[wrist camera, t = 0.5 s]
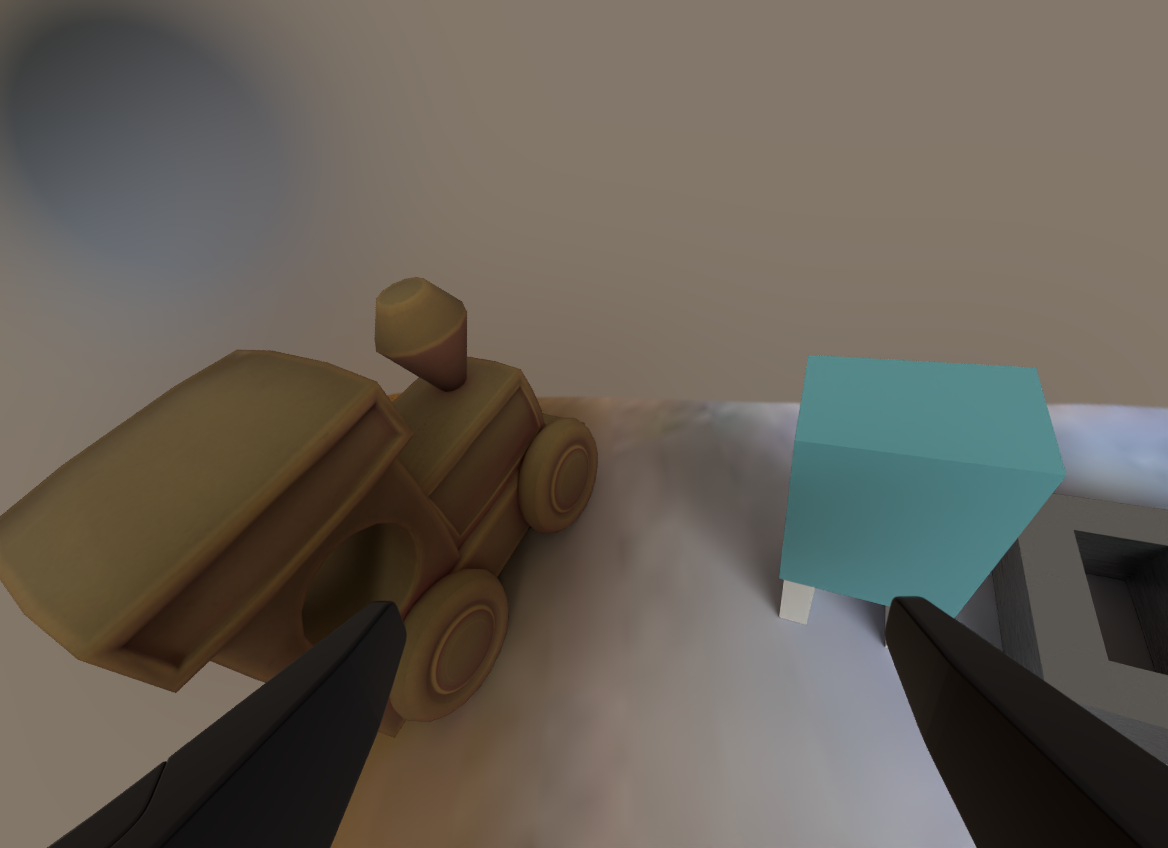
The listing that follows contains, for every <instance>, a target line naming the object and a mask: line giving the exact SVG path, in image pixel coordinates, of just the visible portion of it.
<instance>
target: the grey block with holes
mask: <svg viewBox="0 0 1168 848" xmlns="http://www.w3.org/2000/svg"><path fill="white" fill-rule="evenodd" d="M1085 573H1090V574H1095V575H1100V576H1106V577H1111V578H1116V579H1121V580H1126V581H1127V584H1128V587H1129V590H1130V593H1131V596H1132V599H1133V603H1134V606H1135V609H1136V612H1137V615H1138V618H1139V621H1140V624H1141V627H1142V630H1143V633H1144V637H1145V640H1146V643H1147V646H1148V649H1149V652H1150V655H1151V658H1152V661H1153V664H1154V668H1155V671H1156V672H1152V671H1148V670H1144V669H1140V668H1136V667H1132V666H1128V665H1124V664H1120V663H1116V662H1112V661H1109V660H1108V656H1107V653H1106V649H1105V645H1104V641H1103V638H1102V634H1101V630H1100V627H1099V623H1098V619H1097V615H1096V612H1095V608H1094V604H1093V601H1092V597H1091V593H1090V589H1089V586H1088V582H1087V578H1086V575H1085ZM992 574H993V581H994V588H995V595H996V602H997V609H998V617H999V624H1000V631H1001V638H1002V645H1003V652H1004V653H1005V654H1006V655H1008V656H1009V657H1011V658H1012V659H1014V660H1015V661H1017V662H1018V663H1020V664H1021V665H1022V666H1024V667H1025V668H1027V669H1028V670H1030V671H1031V672H1033V673H1034V674H1035V675H1037V676H1038V677H1040V678H1041V679H1043V680H1044V681H1046V682H1047V683H1049V684H1050V685H1051V686H1053V687H1054V688H1056V689H1057V690H1059V691H1060V692H1062V693H1063V694H1064V695H1066V696H1067V697H1069V698H1070V699H1072V700H1073V701H1075V702H1076V703H1077V704H1079V705H1080V706H1082V707H1083V708H1085V709H1086V710H1088V711H1089V712H1091V713H1092V714H1093V715H1095V716H1096V717H1098V718H1099V719H1101V720H1102V721H1104V722H1105V723H1106V724H1108V725H1109V726H1111V727H1112V728H1114V729H1115V730H1117V731H1118V732H1120V733H1121V734H1122V735H1124V736H1125V737H1127V738H1128V739H1130V740H1131V741H1133V742H1134V743H1135V744H1137V745H1138V746H1140V747H1141V748H1143V749H1144V750H1146V751H1147V752H1149V753H1150V754H1151V755H1153V756H1154V757H1156V758H1157V759H1159V760H1160V761H1162V762H1163V763H1166V764H1168V510H1164V509H1157V508H1150V507H1143V506H1136V505H1129V504H1122V503H1115V502H1108V501H1101V500H1094V499H1087V498H1081V497H1074V496H1067V495H1060V494H1053V493H1052V495H1051V496H1050V497H1049V498H1048V500H1047V501H1046V502H1045V503H1044V505H1043V506H1042V507H1041V509H1040V510H1039V511H1038V512H1037V514H1036V515H1035V516H1034V517H1033V519H1032V520H1031V521H1030V523H1029V524H1028V525H1027V526H1026V528H1025V529H1024V530H1023V531H1022V533H1021V534H1020V535H1019V537H1018V538H1017V539H1016V540H1015V542H1014V543H1013V544H1012V545H1011V547H1010V548H1009V549H1008V551H1007V552H1006V553H1005V554H1004V556H1003V557H1002V558H1001V560H1000V561H999V562H998V563H997V565H996V566H995V567H994V568H993V570H992Z"/></svg>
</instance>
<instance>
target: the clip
mask: <svg viewBox="0 0 1168 848" xmlns="http://www.w3.org/2000/svg"><path fill="white" fill-rule="evenodd" d="M1065 477H1066V472H1065V469H1064V465H1063V462H1062V458H1061V454H1060V451H1059V447H1058V444H1057V440H1056V437H1055V433H1054V430H1053V426H1052V422H1051V419H1050V415H1049V412H1048V408H1047V405H1046V401H1045V398H1044V394H1043V391H1042V387H1041V383H1040V380H1039V377H1038V373H1037V370H1036V368H1029V367H1012V366H995V365H976V364H958V363H941V362H924V361H906V360H886V359H870V358H853V357H834V356H817V355H809V356H808V362H807V368H806V374H805V380H804V386H803V392H802V398H801V405H800V411H799V417H798V423H797V429H796V435H795V442H794V451H793V460H792V468H791V477H790V486H789V495H788V504H787V512H786V521H785V530H784V539H783V548H782V557H781V565H780V574H779V579H782V580H784V584H783V592H782V599H781V607H780V615H779V617H780V618H784V619H787V620H791V621H794V622H798V623H801V624H805V625H806V624H807V620H808V615H809V611H810V607H811V603H812V599H813V594H814V590H815V588H818V589H822V590H826V591H830V592H834V593H838V594H842V595H846V596H850V597H854V598H858V599H862V600H866V601H870V602H874V603H878V604H882V605H885V627H886V622H887V618H888V613H889V609H890V605H891V601H892V599H893V598H894V597H897V596H920V597H923V598H925V599H927V600H928V601H930V602H931V603H933V604H934V605H935V606H937V607H938V608H940V609H941V610H943V611H944V612H946V613H947V614H948V615H950V616H951V617H953V618H955V617H956V616H957V614H958V613H959V612H960V611H961V609H962V608H963V607H964V605H965V604H966V603H967V602H968V600H969V599H970V598H971V596H972V595H973V594H974V593H975V591H976V590H977V589H978V588H979V586H980V585H981V584H982V582H983V581H984V580H985V579H986V577H987V576H988V575H989V574H990V572H991V571H992V570H993V568H994V567H995V566H996V565H997V563H998V562H999V561H1000V560H1001V558H1002V557H1003V556H1004V554H1005V553H1006V552H1007V551H1008V549H1009V548H1010V547H1011V545H1012V544H1013V543H1014V542H1015V540H1016V539H1017V538H1018V537H1019V535H1020V534H1021V533H1022V531H1023V530H1024V529H1025V528H1026V526H1027V525H1028V524H1029V523H1030V521H1031V520H1032V519H1033V517H1034V516H1035V515H1036V514H1037V512H1038V511H1039V510H1040V509H1041V507H1042V506H1043V505H1044V503H1045V502H1046V501H1047V500H1048V498H1049V497H1050V496H1051V495H1052V493H1053V492H1054V491H1055V489H1056V488H1057V487H1058V486H1059V484H1060V483H1061V482H1062V480H1063V479H1064V478H1065ZM885 648H888V647H887V644H886V640H885Z"/></svg>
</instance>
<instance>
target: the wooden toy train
mask: <svg viewBox="0 0 1168 848" xmlns="http://www.w3.org/2000/svg"><path fill="white" fill-rule="evenodd" d="M375 345H376V352H378V353H380V354H382V355H383V356H385V357H386V358H388V359H390V360H392V361H393V362H395V363H397V364H398V365H400V366H402V367H403V368H405V369H407V370H408V371H410V372H412V373H413V374H415V375H417V376H418V377H419V378H418V379H417V380H416V381H414V382H413V383H412V384H411V385H410V386H409V387H408V388H407V389H406V390H405V391H404V392H403V393H402V394H401V395H400V396H399V397H398V398H397V399H396V400H395V401H394V402H393V403H392V402H391V400H390V399H389V398H388V396H387V395H386V394H385V392H384V391H383V390H382V388H381V387H380V385H379V384H378V382H376V381H374V380H371V379H368V378H366V377H363V376H361V375H358V374H356V373H353V372H350V371H348V370H345V369H343V368H340V367H337V366H335V365H332V364H330V363H327V362H322V361H318V360H313V359H309V358H303V357H299V356H295V355H289V354H285V353H281V352H276V351H266V350H262V351H261V350H236V351H234V352H232V353H231V354H229V355H227V356H225V357H224V358H222V359H221V360H219V361H217V362H215V363H214V364H212V365H210V366H208V367H207V368H205V369H203V370H202V371H200V372H198V373H197V374H195V375H193V376H191V377H190V378H188V379H186V380H185V381H183V382H181V383H180V384H178V385H176V386H174V387H173V388H172V389H170V390H169V391H167V392H166V393H164V394H163V395H162V396H160V397H159V398H157V399H156V400H154V401H153V402H152V403H150V404H149V405H148V406H146V407H144V408H143V409H142V410H140V411H139V412H137V413H136V414H134V415H133V416H132V417H131V418H129V419H127V420H126V421H125V422H123V423H122V424H120V425H119V426H117V427H116V428H115V429H113V430H112V431H110V432H109V433H107V434H106V435H105V436H103V437H102V438H100V439H99V440H98V441H96V442H95V443H93V444H92V445H90V446H89V447H87V448H86V449H85V450H83V451H82V452H81V453H79V454H78V455H76V456H75V457H73V458H72V459H70V460H69V461H68V462H66V463H65V464H63V465H62V466H61V467H59V468H58V469H57V470H56V471H55V472H54V473H52V474H51V475H50V476H49V477H47V478H46V479H45V480H44V481H43V482H41V483H40V484H39V485H38V486H36V487H35V488H34V489H33V490H32V491H30V492H29V493H28V494H27V495H26V496H24V497H23V498H22V499H21V500H19V501H18V502H17V503H16V504H15V505H13V506H12V507H11V508H10V509H9V510H7V511H6V512H5V513H4V514H2V515H1V516H0V580H1V582H2V583H3V585H4V586H5V588H6V589H7V590H8V592H9V593H10V595H11V596H12V597H13V599H14V601H15V602H16V603H17V605H18V606H19V608H20V609H21V611H22V612H23V613H24V615H26V616H27V617H28V618H29V619H30V620H31V621H33V622H34V623H35V624H36V625H37V626H39V627H40V628H41V629H42V630H43V631H45V632H46V633H47V634H48V635H49V636H51V637H52V638H53V639H54V640H55V641H56V642H58V643H59V644H60V645H61V646H62V647H64V648H65V649H66V650H67V651H68V652H69V653H71V654H72V655H73V656H74V657H75V658H77V659H78V660H80V661H83V662H86V663H89V664H92V665H95V666H98V667H101V668H104V669H107V670H110V671H113V672H116V673H118V674H121V675H124V676H128V677H130V678H133V679H136V680H139V681H142V682H145V683H148V684H151V685H154V686H157V687H160V688H163V689H166V690H169V691H171V692H175V693H176V692H177V691H179V690H180V689H181V688H182V687H183V685H185V684H186V683H187V682H188V681H189V680H190V679H191V678H192V677H193V676H194V675H195V674H196V673H197V672H198V671H199V670H200V669H201V668H203V667H204V666H205V665H206V664H207V663H208V662H209V661H212V662H215V663H217V664H219V665H222V666H224V667H227V668H229V669H232V670H234V671H237V672H239V673H241V674H244V675H246V676H249V677H251V678H254V679H257V680H260V681H262V682H265V683H266V682H268V681H269V680H270V679H272V678H273V677H274V676H275V675H277V674H278V673H279V672H281V671H282V670H283V669H285V668H286V667H287V666H289V665H290V664H291V663H292V662H294V661H295V660H296V659H298V658H299V657H300V656H302V655H303V654H304V653H305V652H307V651H308V650H309V649H311V648H312V647H313V646H315V645H316V644H317V643H318V642H320V641H321V640H322V639H324V638H325V637H326V636H328V635H329V634H330V633H331V632H333V631H334V630H335V629H337V628H338V627H339V626H341V625H342V624H343V623H344V622H346V621H347V620H348V619H350V618H351V617H352V616H354V615H355V614H356V613H357V612H359V611H360V610H361V609H363V608H364V607H365V606H367V605H368V604H369V603H371V602H373V601H393V602H394V603H396V605H397V607H398V610H399V612H400V615H401V617H402V620H403V622H404V625H405V627H406V632H407V639H406V644H405V647H404V651H403V654H402V657H401V661H400V664H399V667H398V670H397V674H396V677H395V680H394V683H393V687H392V690H391V693H390V696H389V700H388V703H387V706H386V709H385V713H384V716H383V718H382V721H381V724H380V727H379V730H378V731H379V732H382V733H384V734H386V735H389V736H391V737H394V738H395V736H396V735H397V733H398V732H399V730H400V729H401V727H402V725H403V724H404V722H405V721H406V720H412V721H421V722H430V721H433V720H436V719H439V718H441V717H444V716H446V715H448V714H450V713H452V712H453V711H454V710H456V709H457V708H458V707H460V706H461V705H462V704H464V703H465V702H466V701H467V700H468V699H469V698H470V697H471V696H472V695H473V694H474V693H475V691H476V690H477V689H478V688H479V687H480V686H481V684H482V683H483V681H484V680H485V678H486V677H487V675H488V674H489V672H490V671H491V669H492V667H493V665H494V663H495V661H496V659H497V657H498V655H499V653H500V650H501V647H502V644H503V641H504V638H505V635H506V631H507V624H508V618H509V614H508V602H507V595H506V593H505V591H504V589H503V586H502V584H501V583H500V581H499V580H498V578H497V577H498V575H499V574H500V572H501V571H502V569H503V567H504V566H505V564H506V563H507V561H508V560H509V558H510V557H511V555H512V553H513V552H514V550H515V549H516V547H517V546H518V544H519V542H520V541H521V539H522V538H523V536H524V535H525V533H526V531H527V530H528V528H529V527H530V526H531V527H532V528H533V529H534V530H535V531H536V532H539V533H545V534H549V533H555V532H558V531H560V530H563V529H565V528H566V527H568V526H569V525H570V524H571V523H573V522H574V521H575V520H576V519H577V518H578V516H579V515H580V514H581V512H582V511H583V509H584V508H585V506H586V504H587V502H588V500H589V498H590V495H591V493H592V489H593V486H594V483H595V479H596V473H597V464H598V453H597V448H596V443H595V440H594V438H593V436H592V434H591V432H590V430H589V429H588V428H587V427H586V426H585V423H583V422H579V421H578V420H577V419H575V418H560V417H555V416H551V415H546V414H542V410H541V408H540V406H539V403H538V401H537V399H536V396H535V394H534V392H533V390H532V388H531V386H530V384H529V383H528V381H527V379H526V378H525V376H524V374H523V372H522V371H521V369H518V368H515V367H511V366H508V365H505V364H502V363H499V362H495V361H490V360H484V359H478V358H472V357H467V311H466V309H465V307H464V305H463V303H462V301H460V300H458V299H457V298H455V297H453V296H452V295H450V294H449V293H447V292H445V291H444V290H442V289H440V288H439V287H437V286H435V285H434V284H432V283H430V282H428V281H427V280H425V279H423V278H418V277H415V278H408V279H404V280H402V281H399V282H397V283H394V284H392V285H391V286H390V287H388V288H386V289H385V290H383V291H382V292H381V293H380V295H379V296H378V297H377V298H376V319H375Z"/></svg>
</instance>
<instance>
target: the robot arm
mask: <svg viewBox="0 0 1168 848" xmlns="http://www.w3.org/2000/svg"><path fill="white" fill-rule="evenodd" d="M406 639H407V632H406V627H405V625H404V622H403V620H402V617H401V615H400V612H399V610H398V607H397V605H396V603H394V602H393V601H373V602H371V603H369V604H368V605H367V606H365V607H364V608H363V609H361V610H360V611H359V612H357V613H356V614H355V615H354V616H352V617H351V618H350V619H348V620H347V621H346V622H344V623H343V624H342V625H341V626H339V627H338V628H337V629H335V630H334V631H333V632H331V633H330V634H329V635H328V636H326V637H325V638H324V639H322V640H321V641H320V642H318V643H317V644H316V645H315V646H313V647H312V648H311V649H309V650H308V651H307V652H305V653H304V654H303V655H302V656H300V657H299V658H298V659H296V660H295V661H294V662H292V663H291V664H290V665H289V666H287V667H286V668H285V669H283V670H282V671H281V672H279V673H278V674H277V675H275V676H274V677H273V678H272V679H270V680H269V681H268V682H266V683H265V684H264V685H262V686H261V687H260V688H259V689H257V690H256V691H255V692H253V693H252V694H251V695H249V696H248V697H247V698H246V699H244V700H243V701H242V702H240V703H239V704H238V705H236V706H235V707H234V708H233V709H231V710H230V711H229V712H227V713H226V714H225V715H223V716H222V717H221V718H220V719H218V720H217V721H216V722H214V723H213V724H212V725H210V726H209V727H208V728H207V729H205V730H204V731H203V732H201V733H200V734H199V735H197V736H196V737H195V738H194V739H192V740H191V741H190V742H188V743H187V744H186V745H184V746H183V747H182V748H180V749H179V750H178V751H177V752H175V753H174V754H173V755H171V756H170V757H169V758H168V760H167V762H166V761H165V762H162V763H161V764H160V765H158V766H157V767H156V768H154V769H153V770H152V771H150V772H149V773H148V774H146V775H145V776H144V777H143V778H141V779H140V780H139V781H137V782H136V783H135V784H133V785H132V786H131V787H129V788H128V789H127V790H125V791H124V792H123V793H122V794H120V795H119V796H118V797H116V798H115V799H113V800H112V801H111V802H109V803H108V804H107V805H105V806H104V807H103V808H102V809H100V810H99V811H97V812H96V813H95V814H93V815H92V816H91V817H89V818H88V819H87V820H85V821H84V822H82V823H81V824H80V825H78V826H77V827H76V828H74V829H73V830H71V831H70V832H68V833H67V834H66V835H64V836H63V837H61V838H60V839H59V840H57V841H56V842H54V843H53V844H52V845H50V846H49V847H47V848H330V847H331V845H332V842H333V840H334V837H335V835H336V833H337V830H338V828H339V825H340V823H341V820H342V818H343V815H344V813H345V811H346V808H347V806H348V803H349V801H350V798H351V796H352V794H353V791H354V789H355V786H356V784H357V781H358V779H359V776H360V774H361V772H362V769H363V767H364V764H365V762H366V759H367V757H368V755H369V752H370V750H371V747H372V745H373V742H374V740H375V737H376V735H377V732H378V730H379V727H380V724H381V721H382V718H383V716H384V713H385V709H386V706H387V703H388V700H389V696H390V693H391V690H392V687H393V683H394V680H395V677H396V674H397V670H398V667H399V664H400V661H401V657H402V654H403V651H404V647H405V644H406ZM885 640H886V644H887V647H888V649H889V652H890V655H891V657H892V660H893V662H894V665H895V668H896V670H897V673H898V675H899V678H900V681H901V683H902V686H903V689H904V691H905V694H906V696H907V699H908V702H909V704H910V707H911V709H912V712H913V715H914V717H915V720H916V723H917V725H918V728H919V730H920V732H921V735H922V737H923V740H924V742H925V744H926V746H927V748H928V751H929V753H930V755H931V757H932V759H933V761H934V763H935V765H936V767H937V769H938V771H939V773H940V775H941V777H942V779H943V781H944V783H945V785H946V787H947V789H948V791H949V793H950V795H951V797H952V799H953V801H954V803H955V805H956V807H957V809H958V811H959V813H960V815H961V817H962V819H963V821H964V823H965V825H966V827H967V829H968V831H969V833H970V835H971V837H972V839H973V841H974V843H975V845H976V847H977V848H1168V766H1167V765H1166V764H1164V763H1163V762H1162V761H1160V760H1159V759H1157V758H1156V757H1154V756H1153V755H1151V754H1150V753H1149V752H1147V751H1146V750H1144V749H1143V748H1141V747H1140V746H1138V745H1137V744H1135V743H1134V742H1133V741H1131V740H1130V739H1128V738H1127V737H1125V736H1124V735H1122V734H1121V733H1120V732H1118V731H1117V730H1115V729H1114V728H1112V727H1111V726H1109V725H1108V724H1106V723H1105V722H1104V721H1102V720H1101V719H1099V718H1098V717H1096V716H1095V715H1093V714H1092V713H1091V712H1089V711H1088V710H1086V709H1085V708H1083V707H1082V706H1080V705H1079V704H1077V703H1076V702H1075V701H1073V700H1072V699H1070V698H1069V697H1067V696H1066V695H1064V694H1063V693H1062V692H1060V691H1059V690H1057V689H1056V688H1054V687H1053V686H1051V685H1050V684H1049V683H1047V682H1046V681H1044V680H1043V679H1041V678H1040V677H1038V676H1037V675H1035V674H1034V673H1033V672H1031V671H1030V670H1028V669H1027V668H1025V667H1024V666H1022V665H1021V664H1020V663H1018V662H1017V661H1015V660H1014V659H1012V658H1011V657H1009V656H1008V655H1006V654H1005V653H1004V652H1002V651H1001V650H999V649H998V648H996V647H995V646H993V645H992V644H991V643H989V642H988V641H986V640H985V639H983V638H982V637H980V636H979V635H977V634H976V633H975V632H973V631H972V630H970V629H969V628H967V627H966V626H964V625H963V624H962V623H960V622H959V621H957V620H956V619H954V618H953V617H951V616H950V615H948V614H947V613H946V612H944V611H943V610H941V609H940V608H938V607H937V606H935V605H934V604H933V603H931V602H930V601H928V600H927V599H925V598H923V597H920V596H897V597H894V598H893V599H892V601H891V605H890V609H889V613H888V618H887V622H886V627H885Z"/></svg>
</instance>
